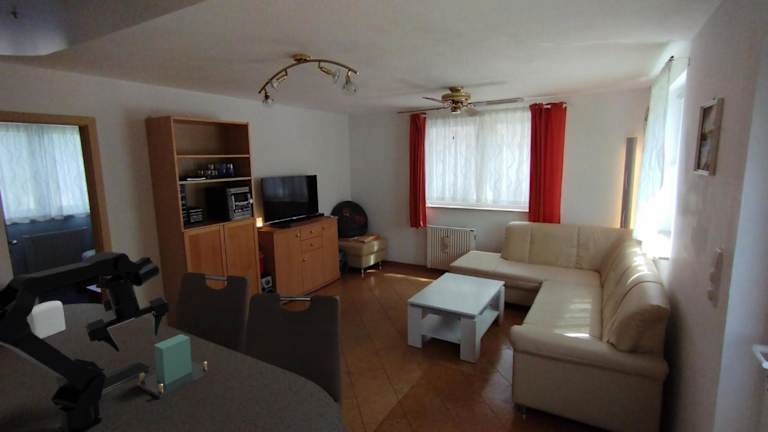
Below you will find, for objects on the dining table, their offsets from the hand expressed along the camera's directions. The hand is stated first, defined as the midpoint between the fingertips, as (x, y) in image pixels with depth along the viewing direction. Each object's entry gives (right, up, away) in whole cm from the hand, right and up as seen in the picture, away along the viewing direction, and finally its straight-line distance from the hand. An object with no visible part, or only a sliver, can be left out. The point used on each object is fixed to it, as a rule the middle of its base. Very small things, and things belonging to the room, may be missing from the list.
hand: (137, 342), depth 103 cm
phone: (-9, -13, +5) cm, 17 cm away
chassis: (+7, -13, +6) cm, 16 cm away
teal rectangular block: (+7, -12, +5) cm, 15 cm away
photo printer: (-55, -8, +32) cm, 64 cm away
